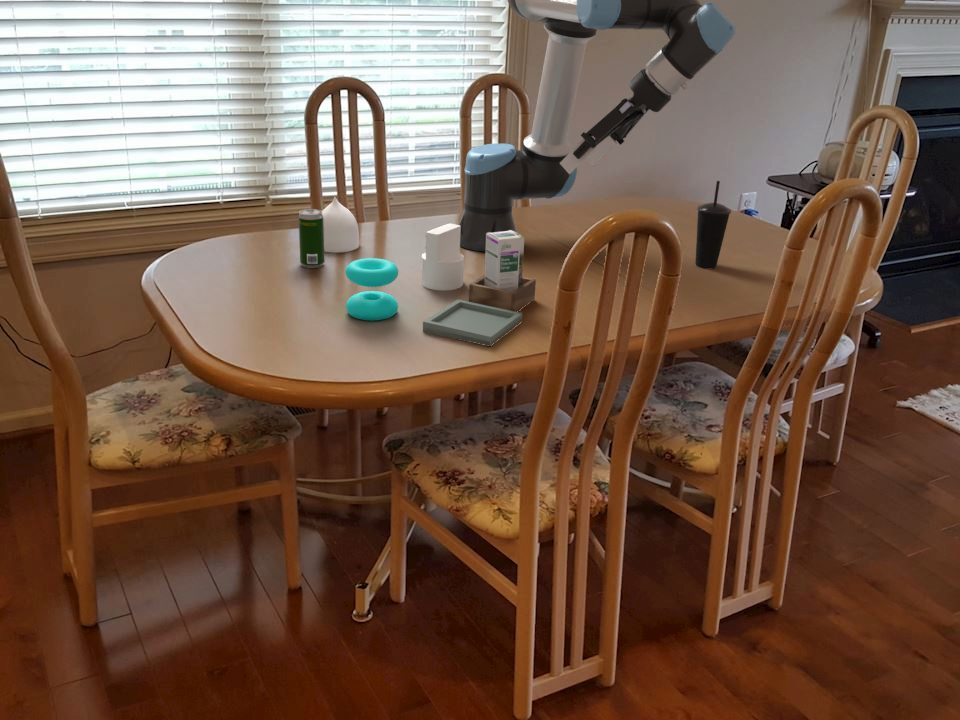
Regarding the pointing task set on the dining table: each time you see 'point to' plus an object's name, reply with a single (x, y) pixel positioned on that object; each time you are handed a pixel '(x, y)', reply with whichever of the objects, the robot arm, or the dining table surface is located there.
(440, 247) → the cylinder with rectangular tab
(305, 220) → the beer can
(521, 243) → the syrup box
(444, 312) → the tray
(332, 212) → the teardrop
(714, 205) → the drinking cup
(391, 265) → the donuts
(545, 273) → the dining table surface
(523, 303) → the brown square open box
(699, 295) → the dining table surface
